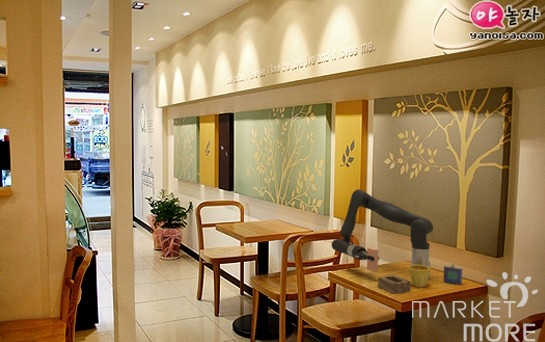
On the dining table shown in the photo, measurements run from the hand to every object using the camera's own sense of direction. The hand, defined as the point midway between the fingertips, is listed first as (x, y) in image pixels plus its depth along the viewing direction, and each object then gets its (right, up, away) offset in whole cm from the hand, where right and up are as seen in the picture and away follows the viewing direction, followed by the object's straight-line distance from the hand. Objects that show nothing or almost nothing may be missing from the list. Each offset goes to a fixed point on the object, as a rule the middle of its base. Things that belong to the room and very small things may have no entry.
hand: (376, 258), depth 257 cm
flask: (+40, -13, -2) cm, 43 cm away
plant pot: (+21, -13, -6) cm, 26 cm away
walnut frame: (+6, -13, -12) cm, 19 cm away
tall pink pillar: (-1, -7, +3) cm, 8 cm away
